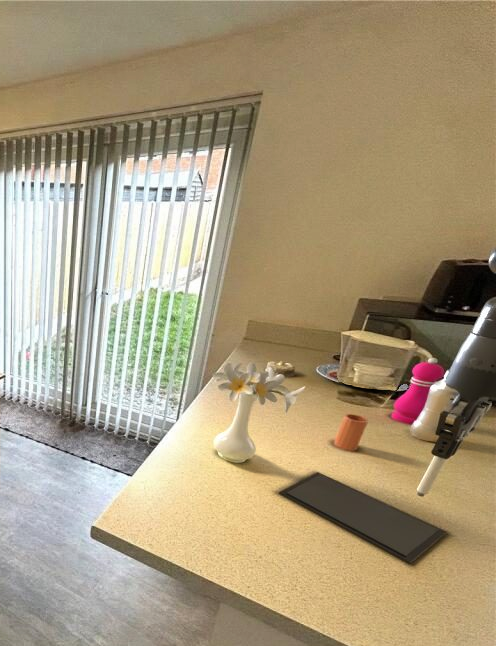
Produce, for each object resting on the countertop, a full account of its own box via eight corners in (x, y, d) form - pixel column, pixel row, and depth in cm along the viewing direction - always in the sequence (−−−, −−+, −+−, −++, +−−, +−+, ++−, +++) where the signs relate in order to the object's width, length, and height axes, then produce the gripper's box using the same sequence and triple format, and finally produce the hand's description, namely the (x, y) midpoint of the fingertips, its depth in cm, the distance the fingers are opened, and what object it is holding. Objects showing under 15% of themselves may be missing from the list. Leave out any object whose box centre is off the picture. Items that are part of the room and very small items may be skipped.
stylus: (426, 496, 73) (462, 431, 67) (423, 498, 72) (458, 432, 66) (416, 492, 74) (450, 427, 68) (413, 494, 73) (447, 429, 68)
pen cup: (359, 449, 104) (372, 419, 101) (350, 453, 102) (362, 423, 99) (338, 441, 108) (350, 412, 105) (329, 445, 106) (341, 416, 103)
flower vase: (278, 481, 93) (311, 385, 83) (192, 458, 102) (212, 369, 92) (275, 454, 103) (305, 366, 93) (197, 436, 112) (216, 353, 102)
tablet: (445, 534, 77) (447, 530, 76) (408, 565, 70) (410, 561, 70) (316, 474, 95) (317, 471, 94) (277, 494, 88) (279, 491, 88)
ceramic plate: (369, 399, 131) (372, 391, 130) (298, 372, 154) (300, 365, 153) (428, 392, 136) (432, 384, 134) (350, 366, 159) (353, 359, 158)
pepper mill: (428, 428, 113) (460, 363, 106) (396, 424, 116) (425, 360, 108) (413, 417, 120) (442, 355, 112) (383, 413, 122) (410, 352, 114)
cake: (298, 380, 149) (303, 367, 146) (268, 378, 151) (272, 365, 149) (288, 368, 157) (292, 356, 154) (260, 367, 160) (263, 355, 157)
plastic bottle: (419, 431, 112) (451, 366, 104) (448, 443, 106) (484, 375, 98) (400, 433, 111) (431, 368, 103) (429, 446, 105) (464, 377, 97)
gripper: (512, 379, 57) (457, 477, 63) (542, 363, 62) (488, 455, 69) (439, 363, 63) (396, 454, 70) (472, 350, 68) (429, 435, 75)
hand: (442, 454), depth 69 cm, fingers closed on stylus, 1 cm apart
